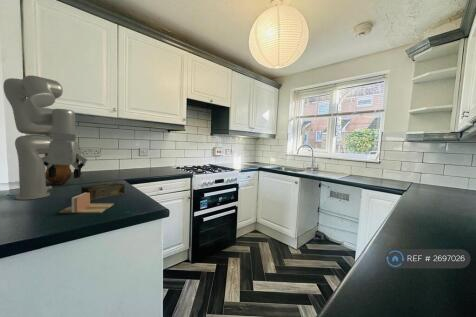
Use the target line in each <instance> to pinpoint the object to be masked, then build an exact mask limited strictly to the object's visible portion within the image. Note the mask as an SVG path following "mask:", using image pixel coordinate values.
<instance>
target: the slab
mask: <svg viewBox="0 0 476 317" xmlns="http://www.w3.org/2000/svg"><path fill="white" fill-rule="evenodd" d="M90 203H91V200H90V193H83V194H78V195H75V196H73V197H71V206H72V212H79V211H81V210H83V209H84V208H86V207H88V206H90Z"/></svg>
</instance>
